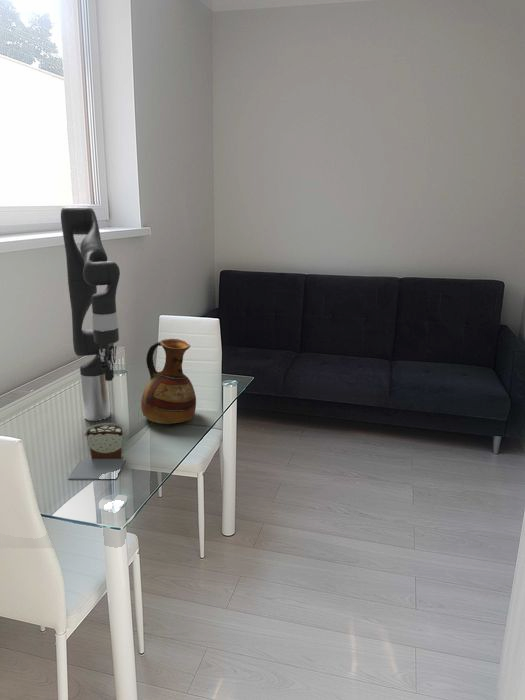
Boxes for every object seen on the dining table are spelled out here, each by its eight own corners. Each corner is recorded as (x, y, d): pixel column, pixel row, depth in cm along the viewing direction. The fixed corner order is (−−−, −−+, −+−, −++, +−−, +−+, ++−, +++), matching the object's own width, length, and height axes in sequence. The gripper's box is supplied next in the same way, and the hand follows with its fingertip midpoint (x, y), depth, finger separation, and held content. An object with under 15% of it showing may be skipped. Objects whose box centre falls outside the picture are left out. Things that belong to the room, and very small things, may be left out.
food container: (130, 450, 171) (128, 422, 168) (126, 459, 165) (124, 430, 162) (92, 450, 170) (89, 422, 167) (86, 459, 164) (84, 430, 161)
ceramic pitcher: (186, 432, 183) (183, 350, 175) (132, 427, 187) (127, 346, 179) (203, 410, 202) (202, 335, 193) (154, 406, 206) (150, 332, 197)
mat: (80, 460, 164) (79, 459, 163) (125, 460, 164) (125, 459, 164) (68, 479, 153) (67, 478, 153) (116, 479, 153) (116, 478, 153)
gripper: (99, 321, 169) (103, 372, 174) (86, 332, 156) (91, 387, 161) (122, 321, 169) (126, 372, 174) (112, 332, 156) (116, 387, 161)
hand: (109, 379), depth 167 cm, fingers closed
